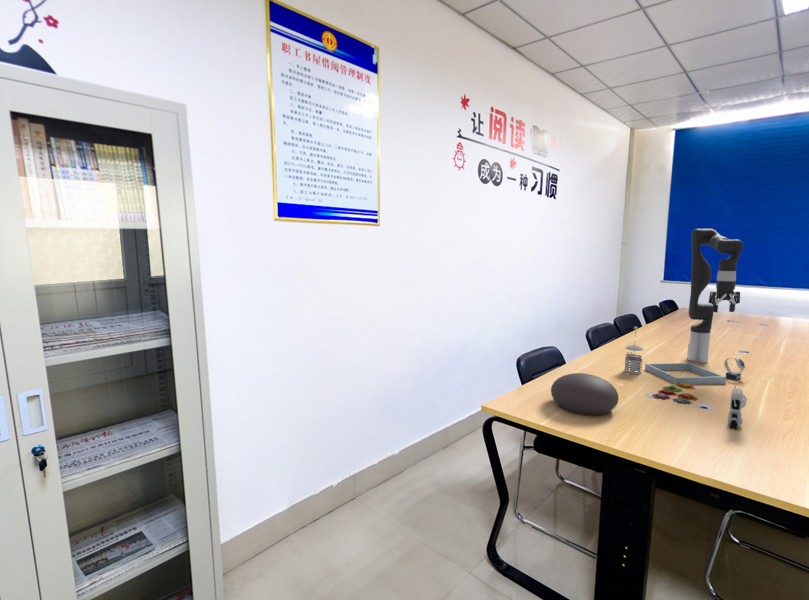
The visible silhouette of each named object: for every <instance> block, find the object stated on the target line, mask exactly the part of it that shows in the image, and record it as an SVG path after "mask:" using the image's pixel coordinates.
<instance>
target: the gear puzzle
mask: <svg viewBox="0 0 809 600" xmlns="http://www.w3.org/2000/svg"><path fill="white" fill-rule="evenodd" d="M661 388H663V389H659V390H657V393H653V394H651V395H652V396H651V397H653V396H654V398H653V399H656V400H658V399H662V400H661V401H663V400H672V401H673V402H675V403H677V404H681V405H692V404H693V402H692V401H694V402H695V401H697V400H699V399H698V398H697V397H696V396H694V395H693V394H691V393H687V392H683V390H694V389H695V390H696V387H694V385H692V384H687V383H680V384H674V385H670V386H667V385H666V386H663V387H661ZM682 389H683V390H682ZM677 393H679V394H677ZM671 396H672V397H673V398H671ZM674 397H677V398H674Z"/></svg>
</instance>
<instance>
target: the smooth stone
mask: <svg viewBox="0 0 809 600" xmlns="http://www.w3.org/2000/svg"><path fill="white" fill-rule="evenodd" d="M550 392H551V393H550V394H551V397H552V399H553V400H554V401H555V403H556V404H557V405H559V406H560V407H561V408H563V409H564V410H566V411H569V412H572V413H573V414H574V413H575V414H578V415H579V414H580V415H586V416H599V415H604V414H607V413H609V412H611V411H612V410H614V408H616V407H617V404H618V403H619V393H618V391H617V389H616V387H614V385H612V383H611V382H609V381H607V380H606V379H605V378H602V377H600V376H597V375H593V374H589V373H583V372H577V373H576V372H575V373H569V374H564V375H562V376H560V377H558V378H557V379H555V380H554V382H553V383H552V385H551V387H550Z"/></svg>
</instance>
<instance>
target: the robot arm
mask: <svg viewBox="0 0 809 600" xmlns="http://www.w3.org/2000/svg"><path fill="white" fill-rule="evenodd" d="M690 236H691V238H690V242H691V266H690V267H691V269H690V296H689V304H688V317H689V318H690V320H697V321H701V322H700V323H699V322H698V323H697V324H694V325H691V326H690V334H689V342H688V343H687V344H688V346H687V357H686V359H687V360H688V361H690V362H694V363H701V364H702V363H704V364H706V363H708V362H709V356H710V355H709V353H710V351H709V350H710V343H711V342H710V340H711V332H712V331H711V330H712V324H713V318H714V313H718V312H719V311H718V310H719V303H721V302H722V301H727V302H729V308H728V309H729V311H728V312H730V313H734V312H735V311H736V305H737V304H740V303H741V292H740V291H736V281H737V265H738V264H737V263H738V261H739V257H740V256H741V253H742V251H743V248H744V243H743V241H742V240H740V239H730V238H728V237H726V236H723V235H721V234H720V233H719V232H717V230H715V229H713V228H694V229H693V230H692V232H691V235H690ZM701 246H710V247H711V248H713V249H714V250H715V251H716V252H717V253H718V254H721V255H729V257H727V258H722V259H720V260H719V261H718V270H717V274H716V284H715V285H716V286H715V289H716V290H715V291H710V292H709V297H708V303H699V299H700V296H701V295H702V292H703V291H704V290H705V289H706V288H707V286H708V285H709V284H710V282H711V280H712V268H711V266H710V264H709V262H708V261H707V259H706V258H705V257H704V256H703V253H702V251H701V250H702V249H701ZM734 290H735V291H734Z"/></svg>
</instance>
